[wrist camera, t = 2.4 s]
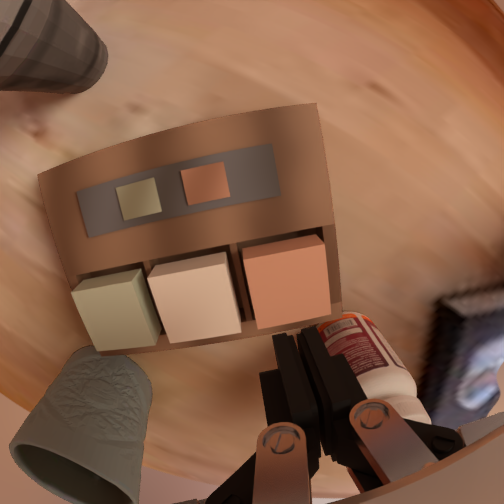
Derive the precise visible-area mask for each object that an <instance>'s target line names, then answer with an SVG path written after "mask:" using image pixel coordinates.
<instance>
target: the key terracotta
mask: <svg viewBox="0 0 504 504" xmlns="http://www.w3.org/2000/svg"><path fill="white" fill-rule="evenodd" d="M242 251H243V261H244V266H245V271H246V276H247V281H248V285H249V290H250V295H251V299H252V304H253V309H254V313H255V318H256V323H257V327H258V329H263V328H269V327H274V326H279V325H284V324H289V323H294V322H298V321H303V320H308V319H312V318H317V317H321V316H326V315H330V314H331V304H330V292H329V281H328V270H327V261H326V251H325V244H324V243H323V242H322V240H321V239H320V238H319V237H318V236H317V235H316V234H314V235H309V236H304V237H299V238H293V239H288V240H283V241H278V242H273V243H267V244H262V245H257V246H252V247H247V248H242Z"/></svg>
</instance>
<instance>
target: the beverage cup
mask: <svg viewBox="0 0 504 504" xmlns="http://www.w3.org/2000/svg"><path fill="white" fill-rule="evenodd" d="M107 61H108V51H107V47H106V46H105V44H104V43H103V41H101V39H100V38H99V36H98V35H97V34H96V32H95V31H94V30H93V29H92V28H91V27H90V26H89V25H88V24H87V23H86V22H85V21H84V19H83V18H82V17H81V16H80V15H79V14H78V13H77V12H76V11H75V10H74V9H73V8H72V7H71V6H70V5H69V4H68V3H67V2H66V1H65V0H0V91H33V92H50V93H62V94H63V93H73V94H75V93H80V92H83V91H85V90H87V89H89V88H91V87H92V86H93V85H94V84H95V83H96V82H97V81H98V80H99V79H100V77H101V76H102V74H103V73H104V71H105V68H106V66H107Z"/></svg>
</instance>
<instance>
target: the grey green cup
mask: <svg viewBox="0 0 504 504" xmlns="http://www.w3.org/2000/svg"><path fill="white" fill-rule="evenodd" d="M147 378H148V376H147V375H146V374H145V372H144V371H143V370H142V369H141V368H140V367H139V366H138V365H137V364H136V363H135V362H133V361H132V360H131V359H130V358H128V357H126V356H125V355H115V356H102V357H101V355H100V353H99V351H97V350H96V348H95V346H87V347H84V348H81V349H79V350H78V351H76V352H75V353H74V354H73V355H72V356H71V357H70V358H69V360H68V361H67V362H66V364H65V365H64V367H63V369H62V371H61V373H60V374H59V375H58V376H57V378H56V379H55V380H54V381H53V383H52V384H51V385H50V386H49V387H48V389H47V391H46V393H45V395H44V397H42V399H41V400H40V401H39V403H38V404H37V405H36V406H35V408H34V409H33V410H32V411H31V413H30V414H29V416H28V417H27V418H26V420H25V421H24V423H23V424H22V426H21V427H20V429H19V430H18V432H17V434H16V435H15V436H14V438H13V439H12V441H11V443H10V444H9V449H10V453H11V455H12V458H13V459H14V461H15V463H16V464H17V465H18V466H19V468H21V469H22V470H23V471H24V472H25V473H26V474H27V475H28V476H29V477H30V478H31V479H33V480H34V481H35V482H37V483H38V484H39V485H40V486H42V487H43V488H45V489H46V490H48V491H50V492H51V493H53V494H55V495H57V496H59V497H60V498H62V499H64V500H66V501H68V502H71V503H73V504H139V491H140V480H141V465H142V459H143V451H144V443H143V442H144V439H145V436H146V429H147V421H148V414H149V408H150V406H151V401H152V387H151V382H150V380H149V379H147Z"/></svg>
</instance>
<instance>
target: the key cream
mask: <svg viewBox="0 0 504 504" xmlns="http://www.w3.org/2000/svg"><path fill="white" fill-rule="evenodd" d="M147 279H148V282H149V285H150V288H151V291H152V294H153V297H154V300H155V303H156V306H157V309H158V312H159V315H160V317H161V320H162V323H163V326H164V328H165V331H166V334H167V336H168V339H169V342H170V343H178V342H185V341H192V340H199V339H205V338H212V337H218V336H224V335H230V334H236V333H241V315H240V311H239V307H238V302H237V298H236V294H235V290H234V285H233V281H232V277H231V272H230V268H229V263H228V259H227V255H226V252H221V253H216V254H211V255H206V256H201V257H196V258H191V259H185V260H180V261H175V262H170V263H165V264H160V265H155V267H154V268H153V270H152V271H151V273H150V275H149V276H148V278H147Z"/></svg>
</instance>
